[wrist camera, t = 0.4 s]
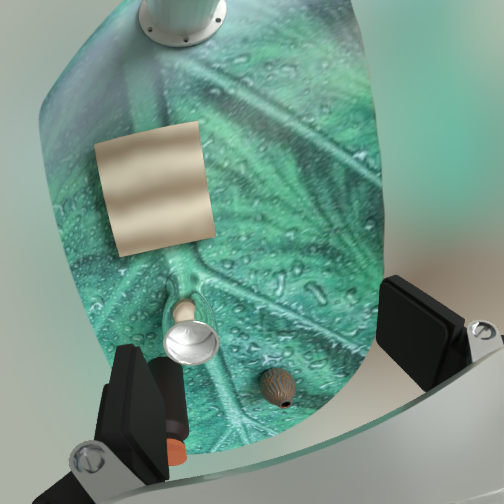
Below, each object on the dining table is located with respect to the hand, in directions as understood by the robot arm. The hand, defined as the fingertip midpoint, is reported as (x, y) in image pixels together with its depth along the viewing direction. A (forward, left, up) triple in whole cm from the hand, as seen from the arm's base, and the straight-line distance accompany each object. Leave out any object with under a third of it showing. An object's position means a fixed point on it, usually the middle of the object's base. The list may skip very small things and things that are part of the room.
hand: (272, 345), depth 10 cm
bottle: (+30, -13, -35) cm, 48 cm away
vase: (+38, +7, -35) cm, 52 cm away
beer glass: (+14, -5, -35) cm, 38 cm away
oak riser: (-2, -6, -35) cm, 35 cm away
